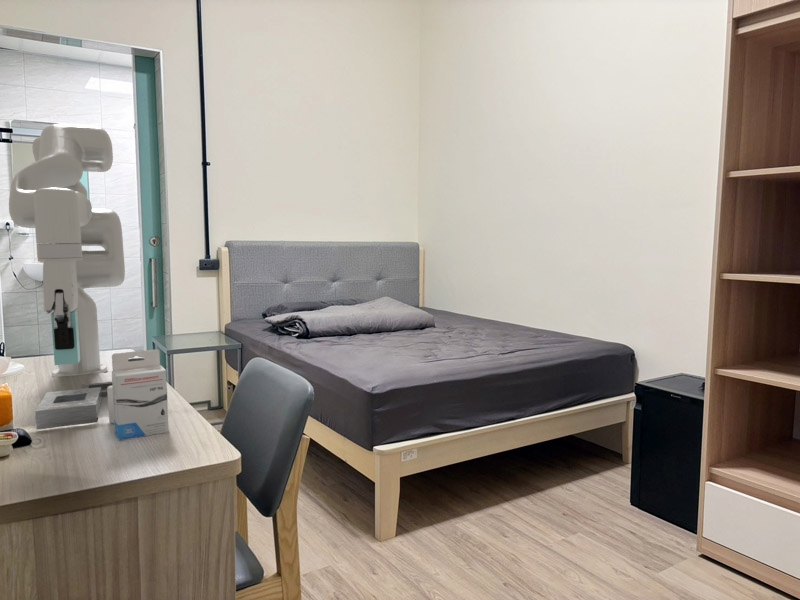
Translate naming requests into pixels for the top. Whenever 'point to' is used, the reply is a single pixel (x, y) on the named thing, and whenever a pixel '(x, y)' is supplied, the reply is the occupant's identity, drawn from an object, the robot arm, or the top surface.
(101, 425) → the top surface
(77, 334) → the plug
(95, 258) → the robot arm
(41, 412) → the port
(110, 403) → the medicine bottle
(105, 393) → the grey square socket
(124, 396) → the ink box
